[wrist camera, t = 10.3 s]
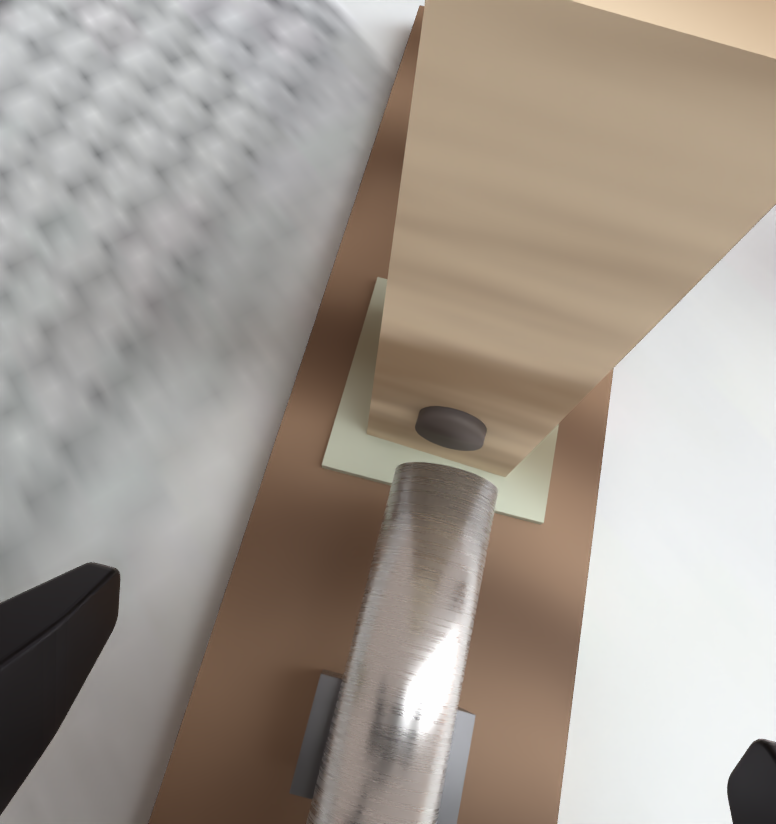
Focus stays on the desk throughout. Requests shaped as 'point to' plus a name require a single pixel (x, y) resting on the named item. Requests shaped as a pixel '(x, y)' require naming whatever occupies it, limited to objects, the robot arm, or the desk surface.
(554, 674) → the base board
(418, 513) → the shafts
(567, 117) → the tan wood post
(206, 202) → the desk surface
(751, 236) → the desk surface
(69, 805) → the desk surface
